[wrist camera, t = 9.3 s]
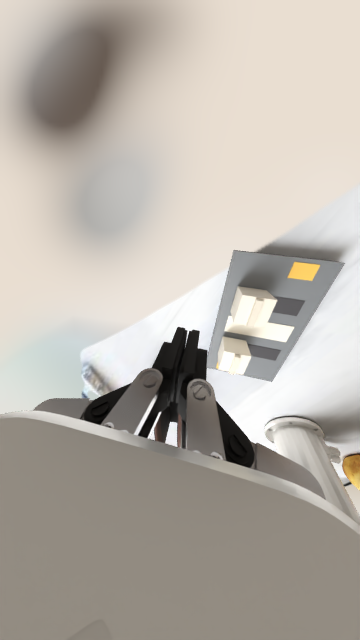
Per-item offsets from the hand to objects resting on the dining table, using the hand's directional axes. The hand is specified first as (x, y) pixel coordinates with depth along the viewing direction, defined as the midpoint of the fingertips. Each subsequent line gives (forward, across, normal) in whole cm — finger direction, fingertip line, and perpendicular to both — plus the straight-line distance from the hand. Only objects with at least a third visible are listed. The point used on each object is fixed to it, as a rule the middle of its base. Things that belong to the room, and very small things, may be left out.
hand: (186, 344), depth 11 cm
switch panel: (+15, -10, +5) cm, 19 cm away
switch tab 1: (+13, -7, +9) cm, 18 cm away
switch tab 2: (+13, -7, 0) cm, 15 cm away
